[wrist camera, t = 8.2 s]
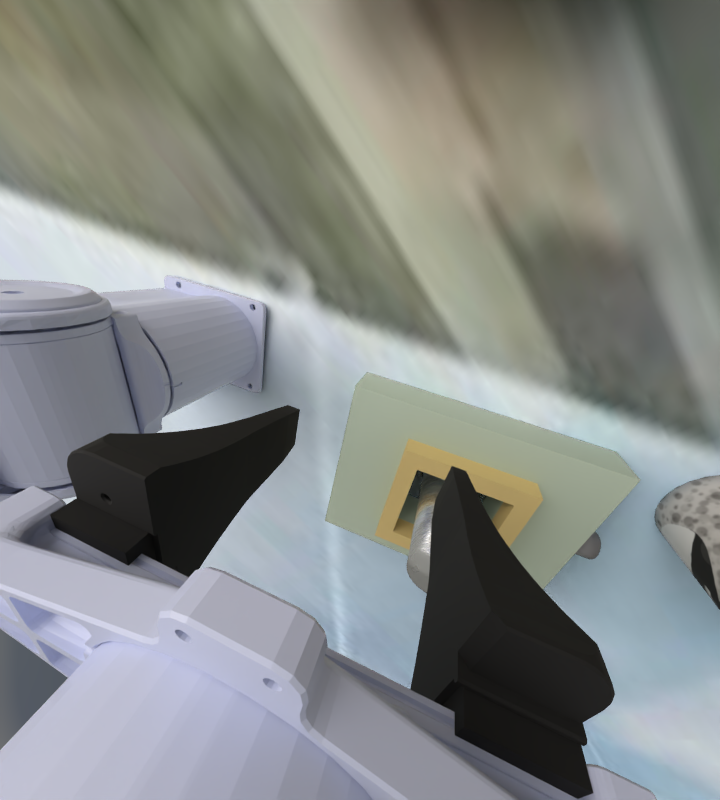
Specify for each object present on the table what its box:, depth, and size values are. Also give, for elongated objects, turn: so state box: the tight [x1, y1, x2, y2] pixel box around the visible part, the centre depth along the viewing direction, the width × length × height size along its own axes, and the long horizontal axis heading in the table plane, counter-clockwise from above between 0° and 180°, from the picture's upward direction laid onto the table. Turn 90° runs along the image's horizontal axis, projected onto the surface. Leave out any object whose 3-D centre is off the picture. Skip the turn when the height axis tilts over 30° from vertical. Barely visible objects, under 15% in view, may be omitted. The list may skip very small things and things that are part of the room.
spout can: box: [407, 472, 481, 593], centre depth 20 cm, size 4×4×11 cm
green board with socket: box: [325, 372, 640, 589], centre depth 22 cm, size 20×14×4 cm
